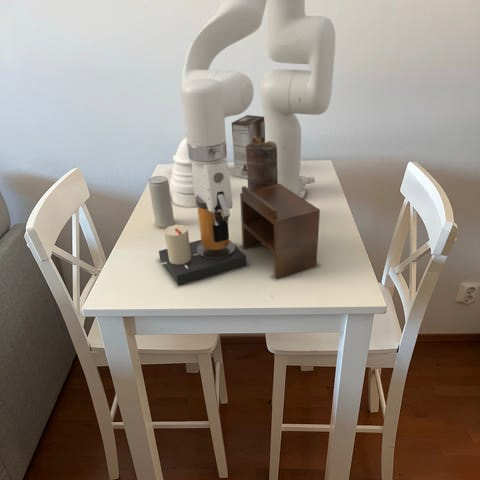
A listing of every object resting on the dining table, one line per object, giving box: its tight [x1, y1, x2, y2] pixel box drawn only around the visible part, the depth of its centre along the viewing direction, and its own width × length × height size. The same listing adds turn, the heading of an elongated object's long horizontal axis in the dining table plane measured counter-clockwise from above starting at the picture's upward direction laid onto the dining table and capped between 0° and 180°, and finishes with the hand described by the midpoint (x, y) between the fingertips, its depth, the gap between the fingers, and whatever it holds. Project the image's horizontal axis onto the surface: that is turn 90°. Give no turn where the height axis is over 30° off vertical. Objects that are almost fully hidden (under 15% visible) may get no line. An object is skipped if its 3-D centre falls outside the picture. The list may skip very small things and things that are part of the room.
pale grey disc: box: [197, 240, 236, 259], centre depth 104 cm, size 9×9×1 cm
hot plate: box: [158, 239, 247, 287], centre depth 103 cm, size 18×12×3 cm
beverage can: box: [148, 175, 175, 229], centre depth 117 cm, size 5×5×12 cm
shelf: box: [239, 184, 321, 280], centre depth 101 cm, size 10×16×15 cm, turn 26°
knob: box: [164, 224, 191, 265], centre depth 99 cm, size 5×5×7 cm
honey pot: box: [169, 137, 197, 208], centre depth 128 cm, size 13×13×18 cm
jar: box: [195, 195, 230, 250], centre depth 100 cm, size 7×7×11 cm
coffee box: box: [231, 114, 265, 179], centre depth 141 cm, size 9×6×16 cm
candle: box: [246, 141, 278, 190], centre depth 112 cm, size 8×7×20 cm
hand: (214, 233), depth 102 cm, fingers closed on jar, 6 cm apart
